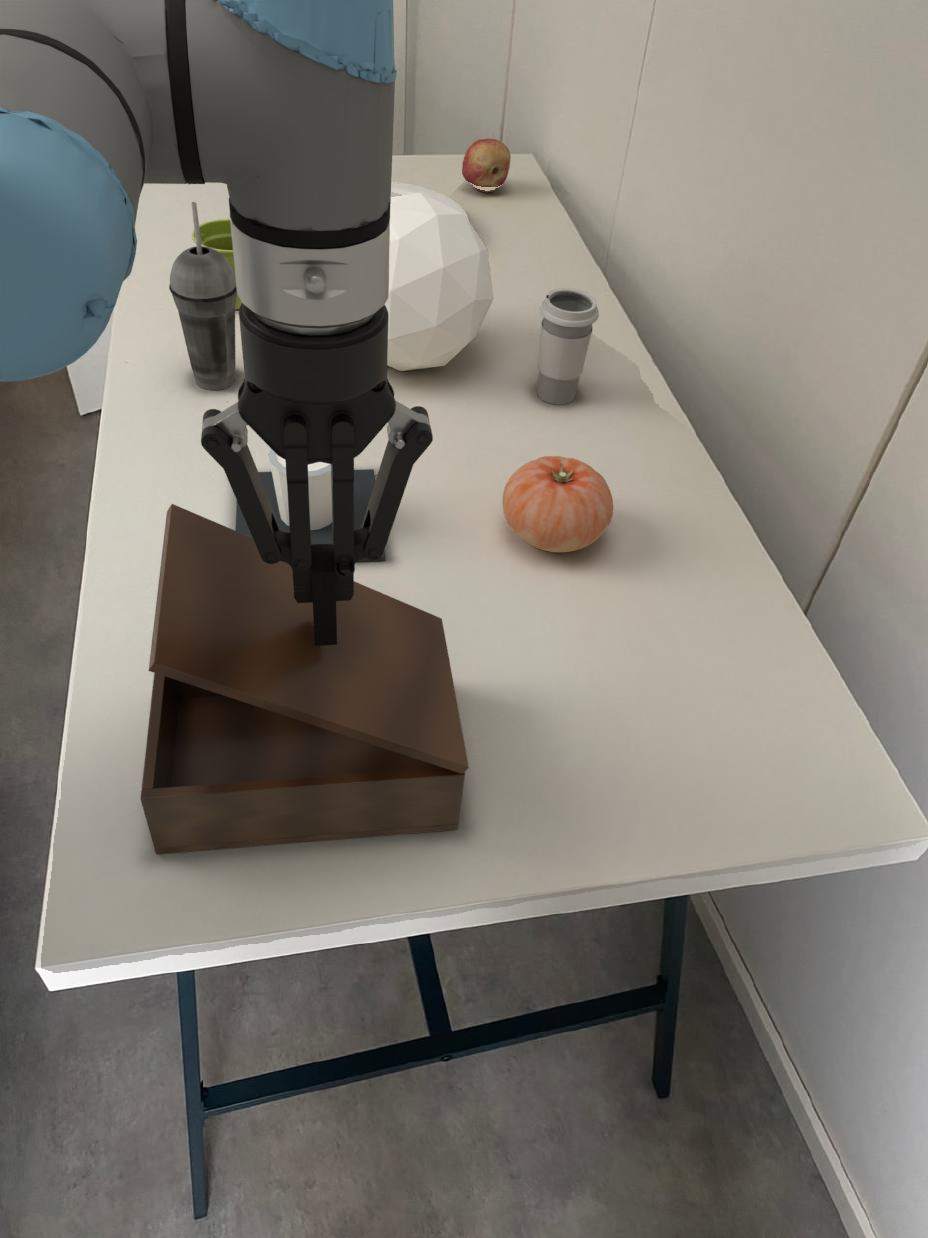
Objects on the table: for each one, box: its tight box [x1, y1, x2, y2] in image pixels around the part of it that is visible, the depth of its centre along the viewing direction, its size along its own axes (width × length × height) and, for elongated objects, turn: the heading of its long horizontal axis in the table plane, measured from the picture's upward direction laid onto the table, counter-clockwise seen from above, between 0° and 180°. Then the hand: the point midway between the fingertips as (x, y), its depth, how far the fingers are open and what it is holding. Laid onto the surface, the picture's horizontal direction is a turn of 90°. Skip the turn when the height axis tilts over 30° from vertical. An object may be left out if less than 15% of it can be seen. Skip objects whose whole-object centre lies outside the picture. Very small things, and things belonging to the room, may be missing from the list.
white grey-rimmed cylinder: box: [268, 448, 332, 530], centre depth 93 cm, size 7×7×7 cm
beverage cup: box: [168, 201, 237, 391], centre depth 105 cm, size 7×7×20 cm
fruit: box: [461, 138, 512, 194], centre depth 157 cm, size 8×8×8 cm
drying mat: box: [235, 468, 386, 563], centre depth 96 cm, size 14×14×1 cm
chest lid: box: [148, 503, 470, 774], centre depth 66 cm, size 23×15×1 cm
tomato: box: [502, 455, 614, 553], centre depth 94 cm, size 11×11×8 cm
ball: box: [385, 193, 495, 372], centre depth 113 cm, size 19×20×20 cm
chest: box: [140, 672, 466, 855], centre depth 72 cm, size 22×15×7 cm
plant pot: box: [191, 218, 242, 310], centre depth 124 cm, size 9×9×9 cm
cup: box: [536, 287, 600, 406], centre depth 112 cm, size 7×7×12 cm
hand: (325, 630), depth 65 cm, fingers closed
